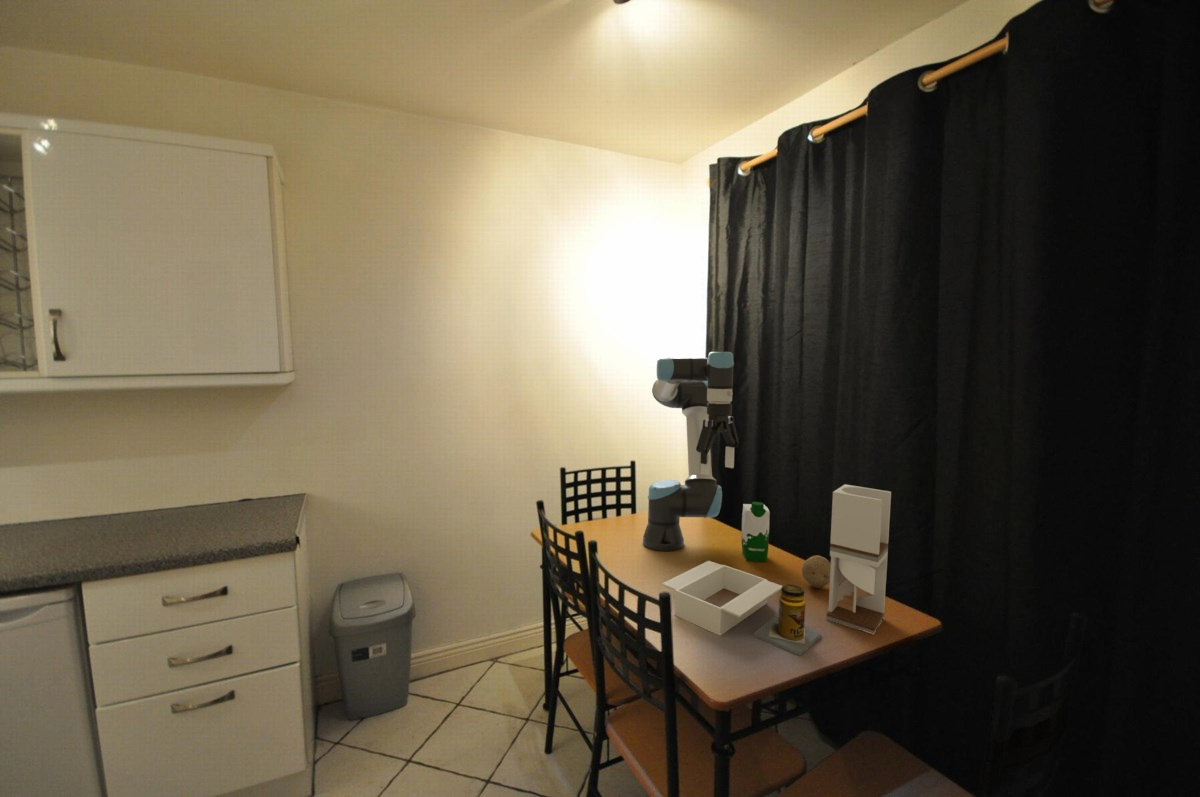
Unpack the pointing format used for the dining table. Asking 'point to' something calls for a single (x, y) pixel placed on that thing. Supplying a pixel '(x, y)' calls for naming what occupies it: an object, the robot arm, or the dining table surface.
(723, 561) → the dining table surface
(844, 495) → the white cereal dispenser
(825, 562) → the natural sponge
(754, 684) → the dining table surface
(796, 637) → the condiment
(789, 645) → the slate mat
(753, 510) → the milk carton
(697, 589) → the carton
